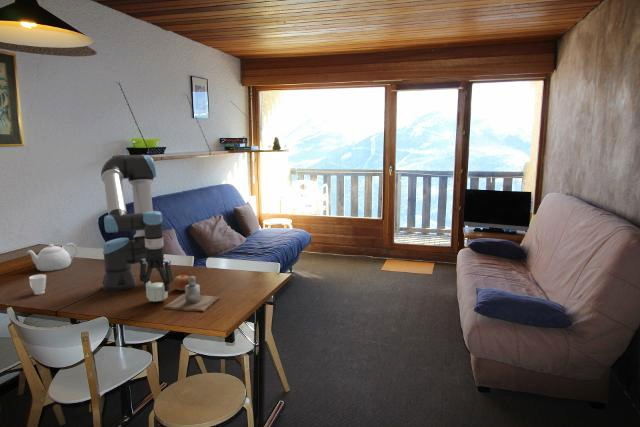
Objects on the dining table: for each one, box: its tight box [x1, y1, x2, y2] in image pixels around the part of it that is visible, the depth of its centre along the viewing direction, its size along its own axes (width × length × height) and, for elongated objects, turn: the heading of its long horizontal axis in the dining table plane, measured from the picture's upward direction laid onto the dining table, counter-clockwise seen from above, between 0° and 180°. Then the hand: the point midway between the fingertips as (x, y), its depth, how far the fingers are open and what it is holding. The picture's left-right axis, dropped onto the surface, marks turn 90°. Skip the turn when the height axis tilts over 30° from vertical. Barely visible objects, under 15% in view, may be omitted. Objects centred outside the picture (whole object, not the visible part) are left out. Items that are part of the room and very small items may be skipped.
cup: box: [28, 273, 47, 295], centre depth 206 cm, size 7×10×8 cm
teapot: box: [26, 242, 79, 272], centre depth 248 cm, size 19×18×14 cm
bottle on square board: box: [164, 275, 221, 313], centre depth 191 cm, size 18×16×12 cm
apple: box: [173, 274, 190, 291], centre depth 210 cm, size 8×8×8 cm
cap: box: [147, 282, 165, 302], centre depth 193 cm, size 7×7×6 cm
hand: (157, 297), depth 194 cm, fingers closed on cap, 7 cm apart
